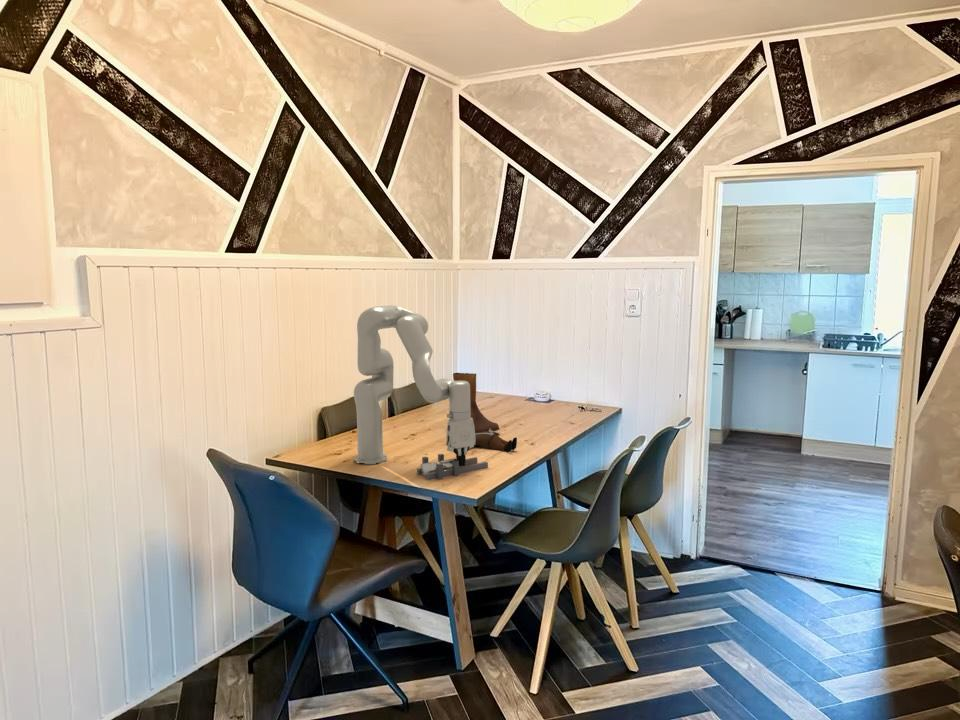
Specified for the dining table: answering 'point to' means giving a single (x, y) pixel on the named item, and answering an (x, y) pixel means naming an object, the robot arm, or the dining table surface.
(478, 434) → the toy
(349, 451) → the dining table surface
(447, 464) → the steel tube
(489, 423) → the boot
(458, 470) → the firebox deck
